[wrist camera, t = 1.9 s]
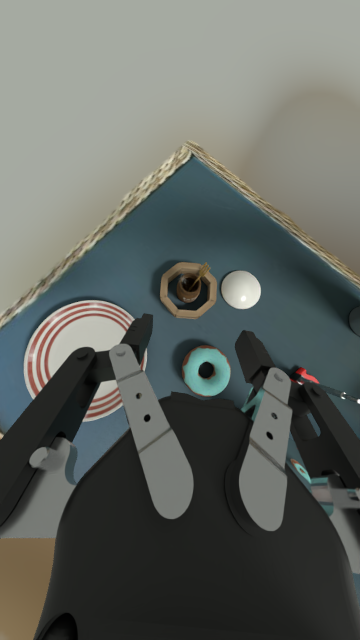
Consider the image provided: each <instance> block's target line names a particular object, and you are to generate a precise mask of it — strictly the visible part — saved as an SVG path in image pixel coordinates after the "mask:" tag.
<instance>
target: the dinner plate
mask: <svg viewBox="0 0 360 640" xmlns="http://www.w3.org/2000/svg"><path fill="white" fill-rule="evenodd" d="M134 320H135V319H134V318H133V317H132V316H131V315H130V314H129V313H128V312H126V311H125V310H124V309H122V308H120V307H119V306H117V305H114V304H112V303H109V302H105V301H98V300H85V301H79V302H75V303H72V304H69V305H67V306H64V307H62V308H60V309H59V310H57V311H55V312H54V313H52V314H51V315H50V316H49V317H47V318H46V319H45V320H44V321H43V322H42V323H41V324H40V326H39V327H38V328H37V330H36V331H35V332H34V334H33V336H32V338H31V339H30V342H29V344H28V347H27V350H26V353H25V359H24V377H25V382H26V385H27V388H28V391H29V393H30V395H31V396H32V398H33V400H34V398H35V397H36V396H37V395H38V393H39V392H40V391H41V390H42V388H43V387H44V386H45V385H46V384H47V382H48V381H49V380H50V379H51V377H52V376H53V375H54V374H55V372H56V371H57V370H58V369H59V368H60V366H61V365H62V364H63V363H64V361H65V360H66V359H67V358H68V356H69V355H70V354H71V353H72V352H73V351H75V350H76V349H78V348H81V347H91V348H93V349H94V350H95V352H98V351H107V350H111V348H112V347H114V346H115V345H118V344H119V343H120V342H121V340H122V338H123V337H124V335H125V333H126V331H127V330H128V328H129V327H130V325H131V323H132V321H134ZM146 361H147V348H146V351H145V354H144V357H143V359H142V362H141V365H140V368H141V370H143V371H145V367H146ZM122 405H123V403H122V400H121V396H120V393H119V389H118V386H117V382H116V380H112V381H106V382H101V384H100V386H99V388H98V390H97V392H96V394H95V396H94V398H93V401H92V403H91V405H90V407H89V409H88V411H87V413H86V415H85V417H84V419H83V421H82V422H84V421H91V420H96V419H99V418H102V417H104V416H107V415H109V414H110V413H112V412H114V411H115V410H117V409H118V408H120V407H121V406H122Z"/></svg>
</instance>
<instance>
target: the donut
mask: <svg viewBox="0 0 360 640" xmlns="http://www.w3.org/2000/svg"><path fill="white" fill-rule="evenodd" d="M203 362H209V363H211V364H212V365H213V367H214V372H213V374H212V376H210V377H209V378H202V377H201V376H200V375H199V373H198V369H199V366H200V365H201V364H202V363H203ZM230 373H231V369H230V364H229V361H228V359H227V358H226V356H225V355H224V354H223V353H222V352H221V351H220V350H219V349H217V348H215V347H212V346H207V345H204V346H199V347H196V348H194V349H192V350H191V351H190V352H189V353H188V354H187V355H186V357H185V359H184V361H183V365H182V376H183V379H184V382H185V384H186V385H187V387H188V388H189V389H190V390H191V391H193V392H194V393H196V394H198V395H200V396H206V397H208V396H214V395H217V394H218V393H220V392H222V391H223V390H224V388H225V387H226V386H227V384H228V382H229V379H230Z"/></svg>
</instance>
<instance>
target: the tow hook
mask: <svg viewBox="0 0 360 640" xmlns="http://www.w3.org/2000/svg"><path fill="white" fill-rule="evenodd" d="M289 378H290V380H291V381H294V382H296V383H298V384H301V385H302V384H304V383H305V382H311V383H314V384H316V385H318V386H319V387H320V388H322V389H323V390H324V391H325V392H327V393H329V394H332V395H334V396H337V397H340V398H342V399H348V400H351V401H353V402H356V403H358V404H360V399H358V398H355V397H352V396H349V395H346V393H344V392H341V391H338V390H335V389H333V388H330V387H327V386H324V385H321V384H319V382H318V381H317V380H316V378H314V377H313V376H311V375H308V374H307V373H306V370H305V369H304V368H302V367H300V368H299V369H298V370H297V371H296V372H295V373H293V374H292V375H291V376H290V377H289Z"/></svg>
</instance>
